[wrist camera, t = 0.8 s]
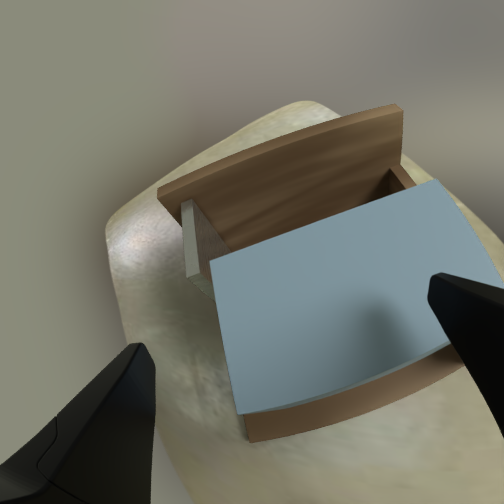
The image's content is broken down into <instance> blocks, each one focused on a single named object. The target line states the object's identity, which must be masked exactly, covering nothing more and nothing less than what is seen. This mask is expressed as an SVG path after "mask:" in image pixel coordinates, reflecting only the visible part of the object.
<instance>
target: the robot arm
mask: <svg viewBox="0 0 504 504" xmlns="http://www.w3.org/2000/svg"><path fill="white" fill-rule="evenodd" d="M427 301H428V304H429V306H430V307H431V309H432V311H433V313H434V314H435V316H436V318H437V320H438V322H439V323H440V325H441V327H442V329H443V331H444V333H445V334H446V336H447V338H448V339H449V341H450V343H451V344H452V346H453V347H454V349H455V350H456V352H457V353H458V355H459V357H460V358H461V360H462V361H463V363H464V365H465V366H466V368H467V369H468V371H469V373H470V374H471V376H472V378H473V380H474V381H475V383H476V385H477V386H478V388H479V390H480V392H481V394H482V395H483V397H484V399H485V401H486V403H487V405H488V407H489V409H490V410H491V412H492V414H493V416H494V418H495V420H496V422H497V425H498V427H499V429H500V431H501V433H502V436H503V438H504V289H503V288H499V287H496V286H492V285H488V284H485V283H481V282H477V281H474V280H470V279H466V278H462V277H459V276H455V275H451V274H447V273H443V272H440V273H437V274H434V275H432V276H431V278H430V281H429V288H428V294H427ZM155 374H156V369H155V364H154V361H153V359H152V358H151V356H150V354H149V352H148V350H147V348H146V346H145V345H144V344H143V343H132V344H129V345H128V346H127V347H126V348H125V349H124V350H123V351H122V352H121V353H120V354H119V355H118V356H117V357H116V358H114V360H113V361H111V362H110V363H109V364H108V365H107V366H106V367H105V368H104V369H103V370H102V371H101V372H100V373H99V374H98V375H97V376H96V377H95V378H94V379H93V380H92V381H91V382H90V383H89V384H88V385H87V386H86V387H85V388H83V389H82V391H80V392H79V394H77V395H76V396H75V397H74V398H73V399H72V400H71V401H70V402H69V403H68V404H67V405H66V406H65V407H64V408H63V409H62V410H61V411H60V412H59V413H58V414H57V417H54V418H53V419H52V420H51V421H50V422H49V423H48V424H47V425H46V426H45V427H44V428H43V429H42V430H41V431H40V432H39V433H38V434H37V435H36V436H34V437H33V438H32V439H31V440H30V441H29V442H27V443H26V444H25V445H24V446H23V447H22V448H20V449H19V450H18V451H17V452H16V453H14V454H13V455H12V456H11V457H10V458H9V459H7V460H6V461H5V462H4V463H2V464H1V465H0V504H150V503H151V501H150V500H151V470H152V451H153V437H154V426H155V413H156V395H155Z"/></svg>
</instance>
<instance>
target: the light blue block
mask: <svg viewBox="0 0 504 504" xmlns="http://www.w3.org/2000/svg"><path fill="white" fill-rule="evenodd" d="M210 268H211V274H212V281H213V287H214V293H215V299H216V305H217V311H218V317H219V323H220V329H221V334H222V340H223V345H224V351H225V356H226V361H227V367H228V372H229V377H230V382H231V387H232V392H233V396H234V401H235V406H236V410H237V415H242V414H251V413H259V412H267V411H273V410H280V409H286V408H290V407H294V406H297V405H301V404H305V403H308V402H312V401H315V400H318V399H322V398H325V397H328V396H331V395H334V394H337V393H340V392H343V391H346V390H349V389H352V388H355V387H357V386H360V385H363V384H365V383H368V382H370V381H373V380H376V379H378V378H380V377H383V376H385V375H388V374H390V373H392V372H395V371H397V370H399V369H401V368H404V367H406V366H408V365H410V364H412V363H414V362H416V361H418V360H420V359H422V358H424V357H426V356H428V355H430V354H432V353H434V352H436V351H438V350H440V349H442V348H444V347H445V346H447V345H449V344H451V343H450V341H449V339H448V338H447V336H446V334H445V333H444V331H443V329H442V327H441V325H440V323H439V322H438V320H437V318H436V316H435V314H434V313H433V311H432V309H431V307H430V306H429V304H428V301H427V294H428V288H429V281H430V278H431V276H432V275H434V274H437V273H440V272H443V273H447V274H451V275H455V276H459V277H462V278H466V279H470V280H474V281H477V282H481V283H485V284H488V285H492V286H496V287H499V288H503V289H504V283H503V281H502V279H501V277H500V275H499V273H498V271H497V270H496V268H495V266H494V264H493V262H492V260H491V258H490V257H489V255H488V253H487V251H486V250H485V248H484V246H483V245H482V243H481V241H480V240H479V238H478V236H477V235H476V233H475V231H474V230H473V228H472V227H471V225H470V224H469V222H468V221H467V219H466V218H465V216H464V215H463V213H462V212H461V210H460V209H459V208H458V206H457V205H456V203H455V202H454V201H453V199H452V198H451V197H450V195H449V194H448V193H447V191H446V190H445V189H444V187H443V186H442V185H441V183H440V182H439V181H438V180H437V179H434V180H431V181H428V182H425V183H423V184H420V185H417V186H414V187H411V188H409V189H406V190H403V191H400V192H397V193H395V194H392V195H389V196H386V197H383V198H381V199H378V200H375V201H372V202H369V203H367V204H364V205H361V206H358V207H356V208H353V209H350V210H347V211H345V212H342V213H339V214H336V215H334V216H331V217H328V218H325V219H323V220H320V221H317V222H314V223H312V224H309V225H306V226H303V227H301V228H298V229H295V230H292V231H290V232H287V233H284V234H281V235H279V236H276V237H273V238H271V239H268V240H265V241H262V242H260V243H257V244H254V245H252V246H249V247H246V248H243V249H241V250H238V251H235V252H233V253H230V254H227V255H225V256H222V257H219V258H216V259H214V260H211V261H210Z"/></svg>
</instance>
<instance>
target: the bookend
mask: <svg viewBox="0 0 504 504" xmlns="http://www.w3.org/2000/svg"><path fill="white" fill-rule="evenodd" d="M181 214H182V231H183V245H184V257H185V269H186V278H187V279H189V280H190V281H191V282H192V283H193V284H194V285H196V286H197V287H198V288H199V289H200V290H202V291H203V292H204V293H205V294H206V295H208V296H209V297H210V298H211V299H212V300H214V301H215V302H216V299H215V293H214V287H213V281H212V274H211V268H210V261H211V260H214V259H216V258H219V257H222V256H225V255H227V254H230V253H232V252H231V251H230V249H229V248H228V247H227V245H226V244H225V243H224V241H223V240H222V239H221V237H220V236H219V235H218V233H217V232H216V231H215V229H214V228H213V226H212V225H211V224H210V222H209V221H208V220H207V218H206V217H205V216H204V214H203V213H202V212H201V210H200V209H199V207H198V206H197V205H196V203H195V202H194V201H193V199H190V200H187V201H185V202H183V203H181Z"/></svg>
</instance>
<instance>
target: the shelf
mask: <svg viewBox="0 0 504 504" xmlns="http://www.w3.org/2000/svg"><path fill="white" fill-rule="evenodd" d="M402 134H403V110H402V109H401V108H400V107H398V106H397V105H396V104H391V105H387V106H382V107H378V108H374V109H370V110H366V111H363V112H358V113H354V114H351V115H347V116H344V117H340V118H336V119H333V120H330V121H326V122H323V123H320V124H317V125H313V126H310V127H307V128H304V129H301V130H298V131H295V132H292V133H289V134H286V135H283V136H280V137H278V138H275V139H272V140H269V141H266V142H264V143H261V144H258V145H256V146H253V147H251V148H248V149H245V150H243V151H240V152H238V153H235V154H233V155H230V156H228V157H225V158H223V159H221V160H218V161H216V162H214V163H211V164H209V165H207V166H204V167H202V168H200V169H198V170H195V171H193V172H191V173H189V174H187V175H184V176H182V177H180V178H178V179H176V180H174V181H172V182H170V183H167V184H165V185H163V186H161V187H159V188H158V190H157V199H158V200H159V201H160V202H161V204H162V205H163V206H164V207H165V208H166V209H167V211H168V212H169V213H170V214H171V215H172V216H173V218H174V219H175V220H176V221H177V222H178V223H179V224H180V226H181V227H182V214H181V203H183V202H185V201H187V200H190V199H193V201H194V202H195V203H196V205H197V206H198V207H199V209H200V210H201V212H202V213H203V214H204V216H205V217H206V218H207V220H208V221H209V222H210V224H211V225H212V226H213V228H214V229H215V231H216V232H217V233H218V235H219V236H220V237H221V239H222V240H223V241H224V243H225V244H226V245H227V247H228V248H229V249H230V251H231V252H232V253H233V252H235V251H238V250H241V249H243V248H246V247H249V246H252V245H254V244H257V243H260V242H262V241H265V240H268V239H271V238H273V237H276V236H279V235H281V234H284V233H287V232H290V231H292V230H295V229H298V228H301V227H303V226H306V225H309V224H312V223H314V222H317V221H320V220H323V219H325V218H328V217H331V216H334V215H336V214H339V213H342V212H345V211H347V210H350V209H353V208H356V207H358V206H361V205H364V204H367V203H369V202H372V201H375V200H378V199H381V198H383V197H386V196H389V195H392V194H395V193H397V192H400V191H403V190H406V189H409V188H411V187H414V186H417V185H416V184H415V182H414V181H413V180H412V178H411V177H410V176H409V175H408V173H407V172H406V171H405V170H404V168H403V167H402V166H401V165H400V161H401V149H402ZM463 366H465V365H464V363H463V361H462V360H461V358H460V357H459V355H458V353H457V352H456V350H455V349H454V347H453V346H452V344H449V345H447V346H445V347H444V348H442V349H440V350H438V351H436V352H434V353H432V354H430V355H428V356H426V357H424V358H422V359H420V360H418V361H416V362H414V363H412V364H410V365H408V366H406V367H404V368H401V369H399V370H397V371H395V372H392V373H390V374H388V375H385V376H383V377H380V378H378V379H376V380H373V381H370V382H368V383H365V384H363V385H360V386H357V387H355V388H352V389H349V390H346V391H343V392H340V393H337V394H334V395H331V396H328V397H325V398H322V399H318V400H315V401H312V402H308V403H305V404H301V405H297V406H294V407H290V408H286V409H280V410H273V411H267V412H259V413H251V414H243V416H244V420H245V425H246V429H247V433H248V438H249V442H250V443H254V442H260V441H266V440H271V439H276V438H281V437H286V436H290V435H294V434H299V433H303V432H307V431H311V430H314V429H318V428H322V427H325V426H328V425H332V424H335V423H338V422H341V421H344V420H348V419H350V418H353V417H356V416H359V415H362V414H365V413H367V412H370V411H373V410H375V409H378V408H380V407H383V406H385V405H388V404H390V403H392V402H395V401H397V400H399V399H402V398H404V397H406V396H408V395H410V394H413V393H415V392H417V391H419V390H421V389H423V388H425V387H427V386H429V385H431V384H433V383H435V382H436V381H438V380H440V379H442V378H444V377H446V376H447V375H449V374H451V373H453V372H454V371H456V370H458V369H460V368H461V367H463Z"/></svg>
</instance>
